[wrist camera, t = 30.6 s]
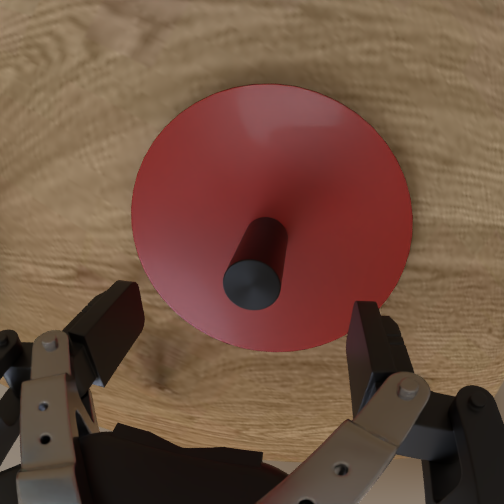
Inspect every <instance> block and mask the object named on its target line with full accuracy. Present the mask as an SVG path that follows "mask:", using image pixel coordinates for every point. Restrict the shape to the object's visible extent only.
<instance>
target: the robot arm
mask: <svg viewBox="0 0 504 504" xmlns="http://www.w3.org/2000/svg"><path fill="white" fill-rule="evenodd" d="M144 321H145V317H144V311H143V306H142V301H141V296H140V291H139V286H138V284H137V283H136V282H130V281H122V280H118V281H116V282H115V283H114V284H113V285H112V286H111V287H110V288H109V289H108V290H107V291H105V292H103V293H101V294H99V295H98V296H96V297H94V298H93V299H92V300H91V301H90V302H89V303H88V306H86V307H85V308H84V309H83V310H82V312H80V313H79V314H78V315H77V316H76V317H75V318H74V319H73V320H72V321H71V322H70V323H69V324H68V325H67V326H66V327H65V328H64V329H63V330H62V331H60V330H52V331H48V332H45V333H43V334H41V335H40V336H38V337H37V338H36V339H35V341H34V343H30V342H21V341H20V339H19V337H18V334H17V333H16V332H15V331H14V330H3V331H0V379H1V378H2V377H4V378H5V380H6V382H7V383H8V385H9V387H10V388H9V389H8V390H7V392H6V393H5V394H4V396H3V397H2V398H1V400H0V466H1V464H2V462H3V460H4V459H5V457H6V455H7V453H8V452H9V450H10V449H11V447H12V445H13V443H14V442H15V441H16V439H17V437H18V436H19V434H20V453H21V464H19V465H16V466H14V467H12V468H9V469H7V470H4V471H1V472H0V504H359V503H360V501H361V500H362V499H363V498H364V496H365V495H366V494H367V493H368V491H369V490H370V489H371V488H372V486H373V485H374V484H375V482H376V481H377V480H378V478H379V477H380V476H381V474H382V473H383V472H384V470H385V469H386V468H387V466H388V465H389V464H390V462H391V461H392V459H393V458H394V456H395V455H396V454H397V455H402V456H407V457H412V458H417V459H421V461H422V469H423V478H424V489H425V501H426V504H504V424H503V421H502V418H501V415H500V413H499V410H498V407H497V404H496V402H495V400H494V398H493V396H492V395H491V394H490V393H489V392H488V391H487V390H485V389H484V388H482V387H479V386H474V385H470V386H465V387H463V388H462V389H460V390H459V392H458V393H457V395H456V397H455V396H450V395H445V394H440V393H436V392H433V391H430V387H429V385H428V383H427V382H426V381H425V380H424V379H423V378H422V377H421V376H419V375H417V374H415V373H414V370H413V367H412V364H411V361H410V358H409V355H408V352H407V349H406V346H405V345H404V341H403V338H402V337H401V332H400V330H399V327H398V325H397V323H396V322H395V321H394V320H393V319H392V318H391V317H390V316H381V315H380V311H379V308H378V305H377V303H376V302H375V301H355V302H354V305H353V310H352V315H351V320H350V325H349V330H348V335H347V342H346V354H347V363H348V371H349V380H350V390H351V400H352V410H353V420H352V421H351V420H349V419H347V420H345V421H344V422H343V423H342V424H341V425H340V426H339V427H338V428H337V429H336V430H335V431H334V432H333V433H332V434H331V435H330V436H329V437H328V438H327V439H326V440H325V441H324V442H323V443H322V444H321V445H320V446H319V447H318V448H317V449H316V450H315V451H314V452H313V453H312V454H311V455H310V456H309V457H308V458H307V459H306V460H305V461H304V462H303V463H301V464H300V465H299V466H298V467H297V468H296V469H295V470H294V471H293V472H292V473H291V474H289V475H288V474H287V473H285V472H283V471H282V470H280V469H278V468H276V467H274V466H272V465H269V464H266V463H263V462H262V459H263V452H257V451H249V450H241V449H234V448H227V447H214V448H182V447H179V446H177V445H175V444H173V443H171V442H169V441H167V440H165V439H163V438H161V437H159V436H157V435H155V434H153V433H151V432H149V431H145V430H141V429H138V428H134V427H131V426H127V425H124V424H121V423H117V425H116V427H115V429H114V430H113V432H100V431H99V427H98V423H97V418H96V413H95V408H94V403H93V398H92V393H91V391H90V389H89V388H90V387H91V385H92V384H94V385H98V386H101V387H105V386H106V384H107V383H108V381H109V380H110V378H111V376H112V375H113V373H114V372H115V370H116V369H117V367H118V366H119V364H120V363H121V361H122V360H123V358H124V357H125V355H126V354H127V352H128V351H129V349H130V348H131V346H132V345H133V343H134V342H135V341H136V339H137V338H138V336H139V335H140V333H141V332H142V330H143V327H144Z"/></svg>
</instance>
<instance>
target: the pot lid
mask: <svg viewBox="0 0 504 504" xmlns="http://www.w3.org/2000/svg"><path fill="white" fill-rule="evenodd" d="M131 219H132V230H133V237H134V242H135V246H136V249H137V253H138V256H139V259H140V261H141V264H142V266H143V268H144V271H145V273H146V274H147V276H148V278H149V280H150V281H151V283H152V285H153V286H154V288H155V289H156V291H157V292H158V293H159V295H160V296H161V297H162V299H163V300H164V301H165V302H166V303H167V304H168V305H169V306H170V307H171V308H172V309H173V310H174V311H175V312H176V313H177V314H178V315H179V316H180V317H182V318H183V319H184V320H185V321H186V322H188V323H189V324H191V325H192V326H194V327H195V328H197V329H198V330H200V331H201V332H203V333H205V334H207V335H209V336H211V337H213V338H215V339H217V340H220V341H222V342H225V343H227V344H230V345H234V346H237V347H241V348H245V349H250V350H256V351H266V352H290V351H298V350H304V349H309V348H313V347H317V346H320V345H323V344H326V343H328V342H331V341H334V340H336V339H338V338H340V337H342V336H344V335H346V334H348V330H349V325H350V320H351V315H352V310H353V305H354V302H355V301H375V302H376V303H377V305H378V308H380V307H381V306H382V304H383V303H384V302H385V301H386V300H387V298H388V297H389V295H390V294H391V292H392V291H393V289H394V288H395V286H396V285H397V283H398V281H399V279H400V276H401V274H402V272H403V270H404V267H405V264H406V261H407V258H408V255H409V251H410V245H411V239H412V224H413V215H412V206H411V198H410V194H409V190H408V187H407V183H406V180H405V177H404V175H403V172H402V170H401V168H400V166H399V163H398V161H397V159H396V158H395V156H394V154H393V153H392V151H391V150H390V148H389V146H388V145H387V143H386V142H385V141H384V140H383V139H382V137H381V136H380V135H379V134H378V133H377V132H376V130H375V129H374V128H373V127H372V126H371V125H370V124H369V123H367V122H366V121H365V120H364V119H363V118H362V117H361V116H359V115H358V114H357V113H356V112H354V111H353V110H351V109H349V108H348V107H346V106H345V105H343V104H342V103H340V102H338V101H336V100H334V99H332V98H330V97H328V96H325V95H323V94H321V93H318V92H315V91H312V90H308V89H305V88H301V87H297V86H290V85H282V84H251V85H245V86H239V87H234V88H230V89H227V90H224V91H221V92H218V93H215V94H212V95H210V96H208V97H206V98H204V99H202V100H200V101H198V102H196V103H194V104H193V105H191V106H190V107H189V108H187V109H186V110H184V111H183V112H181V113H180V114H179V115H178V116H176V117H175V118H174V119H173V120H172V121H171V122H170V123H169V124H168V125H167V126H166V127H165V128H164V129H163V130H162V132H161V133H160V134H159V135H158V137H157V138H156V139H155V140H154V142H153V143H152V145H151V147H150V148H149V150H148V152H147V154H146V155H145V157H144V159H143V162H142V164H141V167H140V169H139V171H138V174H137V178H136V182H135V186H134V190H133V197H132V206H131Z"/></svg>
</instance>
